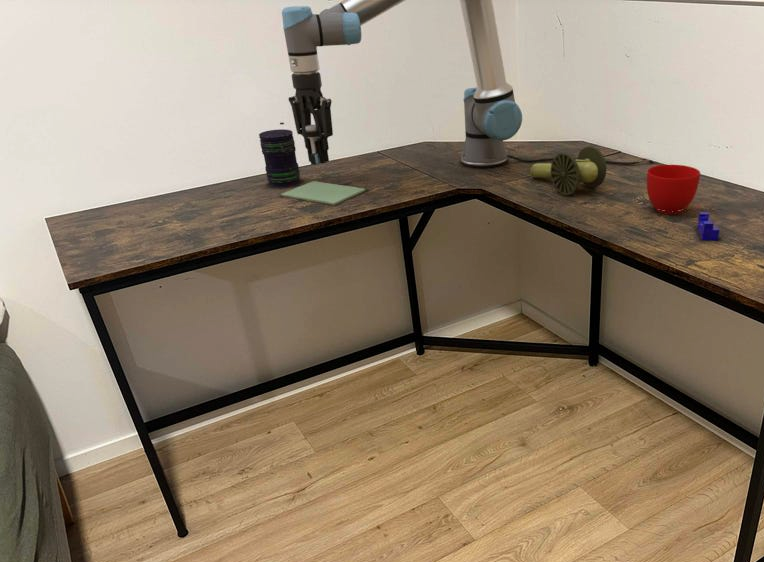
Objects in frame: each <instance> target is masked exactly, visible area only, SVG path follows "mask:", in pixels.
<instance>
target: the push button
mask: <svg viewBox="0 0 764 562" xmlns="http://www.w3.org/2000/svg"><path fill="white" fill-rule="evenodd" d="M318 132H319V131H317V128H316V125H315V124H311V125H308V126H306V129H305V130H303V133H304V135H305V137H307V138H309V139H310V142H311V155H310V161H311V162H310V165H311V166H312V165H314V166H317V165H320V164H322V163H321V162H320V156H319V149H318V142H317V138H319V135H318Z"/></svg>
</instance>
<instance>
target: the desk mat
mask: <svg viewBox="0 0 764 562" xmlns="http://www.w3.org/2000/svg"><path fill="white" fill-rule="evenodd" d="M364 192H366V188H362V187H355V186H349V185H344V184H343V185H341V184H337V183H330V182H323V181H315V180H313V181H310V182H307V183H305V184H301V185H300V186H298V187H297V186H296V187H295V188H293V189H290V190H287V191H285V192H282V193H280V196H281V197H284V198H291V199H297V200H303V201H308V202H314V203H321V204H326V205H331V206H336V205H338V204H340V203H342V202H345V201H347V200H349V199H352V198H353V197H355V196H357V195H360V194H362V193H364Z"/></svg>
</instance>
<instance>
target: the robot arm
mask: <svg viewBox="0 0 764 562" xmlns="http://www.w3.org/2000/svg"><path fill="white" fill-rule="evenodd" d="M405 1H406V0H342V1H341V2H338V3H337V4H335V5H333V6H332V7H330V8H326V9H324V10H321V12H319V13H313V12H312V8H311V7H310V6H309V5H298V6H297V5H293V6H287V7H284V8H283V9H282V10H281V19H282V25H283V27H282V28H283V34H284V39H285V44H286V49H287V51H286V52H287V57H288V62H289V63H288V64H289V68H290V72H291V73H292V74H291V81H292V87H293V89H295V93H294V94H295V95H293V96H290V97H288V103H289V104H290V107H291V110H292V111H291V112H292V115H293V120H294V124H295V129H296V130H295V131H296V134H297V135H301V136H302V137H303V141H304V147H305V149H306V151H307V157H308V162H309V163H311V161H310V155H311V142H310V139H309V138H307V137H305V135H304V133H303V130H305V129H306V126H308V125H312V117H313V121H314V125H316V128H317V131H319V132H318V135H319V138H317V142H318V149H319V156H320V162H321V163H320V164H326V163H328V162H330V159H329V152H328V151H329V149H330V147H329V141H328V139H329V138H330V137H333V136H334V133H333V132H334V131H333V121H332V120H333V119H332V109H331V107H332V99H331V98H326V97H325V96H324V95H323V92H322V90H321V89H322V86H323V83H322V75H321V73H320V72H319V71H320V62H319V56H318V48H317V47H329V46H351V45H357V44H360V43H361V42H362V41H361V40H362V26H363V25H365V24H367V23H369V22H370V21H372V20H374V19H375V18H377V17H379V16H380V15H382V14H384V13H386V12H387V11H390V10H391V9H393V8H394V7H396V6H398V5H400V4H401V3H403V2H405ZM459 2H460V3H459V4H460V8H461V13H462V19H463V23H464V28H465V29H464V30H465V33H466V38H467V44H468V48H469V53H470V58H471V64H472V69H473V73H474V79H475V84H476V86H475V87H468V88H466V89H465V90H464V92H463V108H464V110H463V111H464V129H465V139H464V143H463V147H462V151H461V154H460V163H461V165H463V166H464V167H470V168H478V169H486V168H487V169H488V168H489V169H490V168H495V167H500V166H501V167H502V166H503V165H505V164H507V163H508V162H509V159H511V160H516V161H519V162H523V163H536V162H537V163H538V162H544V161H546V162H547V161H553V159H554V158H555V157H545V158H535V159H523V158H519V157H516V156H513V155H509V154H508V151H507V148H506V146H505V143H504V141H508V140H509V139H512V137H515V135H516V134H517V133H518V132H519V130H520V128H521V126H522V123H523V113H522V109H521V108H520V106H519V105H518V104H517V102H516V99H515V93H514V88H513V86H512V85H511V84H510V83H508V82H507V79H506V73H505V66H504V61H503V55H502V49H501V44H500V38H499V37H500V36H499V33H498V32H499V31H498V27H497V21H496V15H495V10H494V9H495V8H494V3H493V0H459ZM573 158H574V159H575V160H577V158H578V157H573ZM646 159H647V158H641V160H646ZM605 162H606V164H612V165H623V166H625V165H627V166H630V165H637V164H640V163H642V162H644V161H642V162H635V161H632V162H631V161H629V162H627V161H626V162H625V161H623V162H622V161H614V160H613V161H612V160H605ZM647 162H648V163H650V164H651V165H652V164H653V165H654V164H655V163H654V161H653V160H651V159H650V161H647Z"/></svg>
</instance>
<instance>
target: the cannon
mask: <svg viewBox="0 0 764 562" xmlns="http://www.w3.org/2000/svg"><path fill="white" fill-rule="evenodd" d="M553 158H554V159H553V160H551V161H552V162H551V163H550V162H549V163H547V162H546V163H542V162H537V163H536V162H535V163H534V164H532V166H531V167H530V175H531V176H532V177H533V178H534V179H545V180H546V179H547V180H548V179H549V180H551V182H552V184H553V187H554V188H555V190H556V191H557V192H558V193H559V194H561V195H562V196H571V195H573V194H574V193H576V191H577V190H578V189H579V186H580V183H581V184H583V185H584V186H585V187H587V188H591V189H593V188H594V189H595V188H597V187H600V186H601V185H602V184H603V182H604V181H605V179H606V175H607V163H606V162H605V161H606V159H605V156H604V155H603V153H602V151H600V149H599V148H598V147H595V146H592V145H591V146H590V145H589V146H586V147H584V148H582V149H581V150H580V151H579V153H578V155H577V157H576V158H577V160H575V159H574V158H575V157H574V156H573V155H571V153H568V152H561V153H558V154H557V155H555V157H553Z"/></svg>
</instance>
